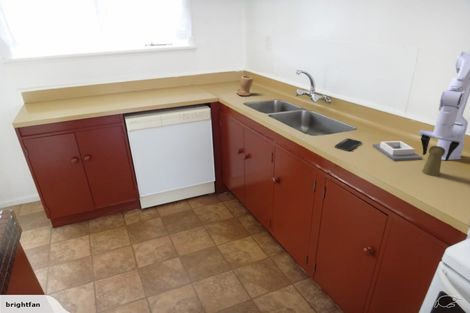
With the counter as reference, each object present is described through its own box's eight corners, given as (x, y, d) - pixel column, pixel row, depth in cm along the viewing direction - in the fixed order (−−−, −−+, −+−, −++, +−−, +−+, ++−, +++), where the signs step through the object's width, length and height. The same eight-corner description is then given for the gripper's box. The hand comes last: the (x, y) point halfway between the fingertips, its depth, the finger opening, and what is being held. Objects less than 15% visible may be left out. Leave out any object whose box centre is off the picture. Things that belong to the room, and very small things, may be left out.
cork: (419, 172, 124) (426, 147, 119) (424, 168, 128) (431, 143, 123) (437, 177, 120) (444, 151, 115) (441, 172, 124) (449, 147, 119)
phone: (333, 146, 148) (347, 138, 158) (333, 148, 148) (347, 140, 158) (349, 150, 143) (362, 141, 153) (349, 152, 143) (362, 143, 153)
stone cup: (254, 96, 246) (254, 77, 240) (239, 97, 244) (239, 77, 238) (249, 92, 260) (249, 74, 254) (235, 93, 257) (235, 74, 251)
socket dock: (397, 145, 151) (399, 138, 150) (421, 159, 136) (423, 151, 134) (372, 146, 150) (373, 139, 148) (393, 160, 134) (395, 153, 133)
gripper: (420, 121, 117) (411, 154, 123) (466, 130, 108) (454, 165, 114) (425, 117, 122) (417, 149, 128) (469, 125, 113) (458, 159, 119)
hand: (435, 156), depth 121 cm, fingers open, 7 cm apart
